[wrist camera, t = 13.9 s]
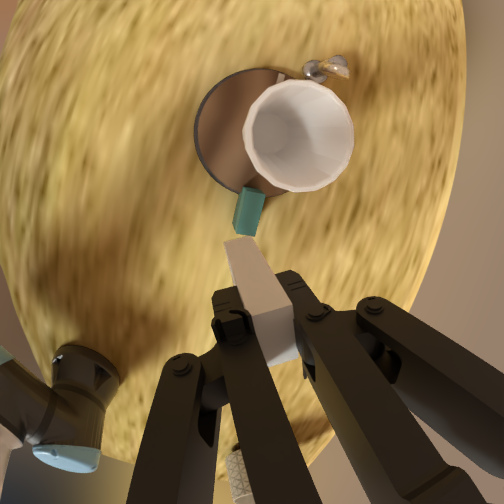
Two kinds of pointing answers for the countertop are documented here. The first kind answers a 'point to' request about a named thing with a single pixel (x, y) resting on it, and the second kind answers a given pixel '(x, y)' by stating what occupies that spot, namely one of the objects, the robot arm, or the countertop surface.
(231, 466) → the planter
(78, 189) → the countertop surface
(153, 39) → the countertop surface
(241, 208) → the brown and teal disc
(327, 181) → the cup
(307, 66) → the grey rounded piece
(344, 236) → the countertop surface
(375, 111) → the countertop surface
